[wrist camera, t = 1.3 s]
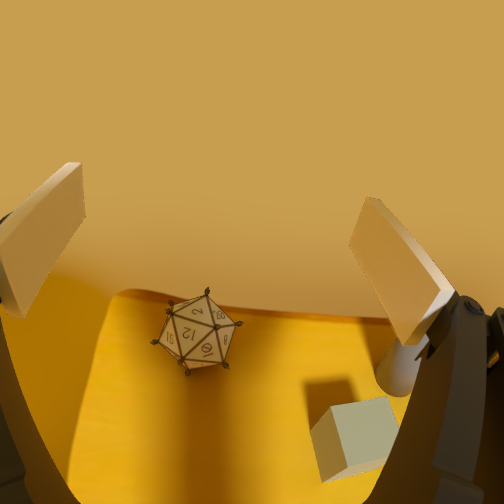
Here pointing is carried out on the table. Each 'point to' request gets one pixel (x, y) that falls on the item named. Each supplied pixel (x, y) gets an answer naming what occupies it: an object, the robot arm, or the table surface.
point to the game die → (197, 333)
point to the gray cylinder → (399, 368)
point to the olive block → (354, 438)
